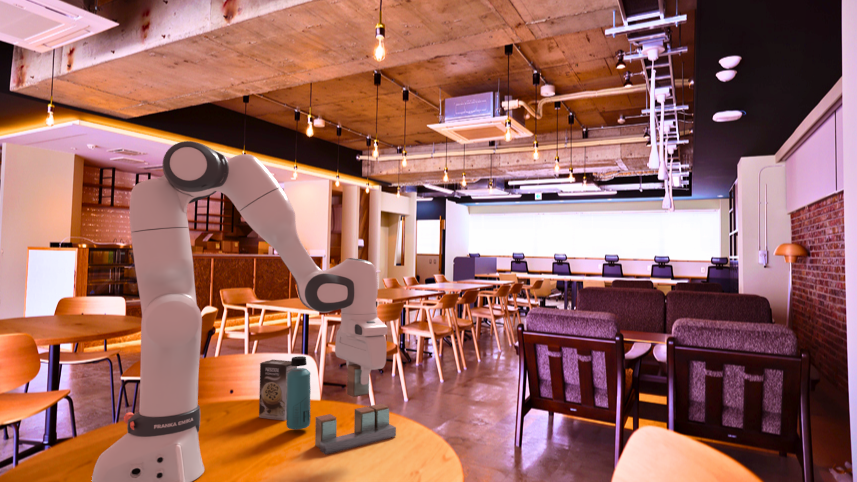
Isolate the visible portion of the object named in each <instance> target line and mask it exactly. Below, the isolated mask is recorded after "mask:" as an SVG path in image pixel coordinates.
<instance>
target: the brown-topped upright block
mask: <svg viewBox="0 0 857 482" xmlns="http://www.w3.org/2000/svg"><path fill="white" fill-rule="evenodd" d="M361 372H362V370H361V366H360V365H357V364H353V365H348V368H347V381H346V382H347V385H346V387H347V388H346V389H347V391H346V394H347V395H349V396H350V397H352V398H358V397H363V396H368V395H369V393H370V375H369V376H368V384H365V385H362V384H360V383H359V376H361Z"/></svg>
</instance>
